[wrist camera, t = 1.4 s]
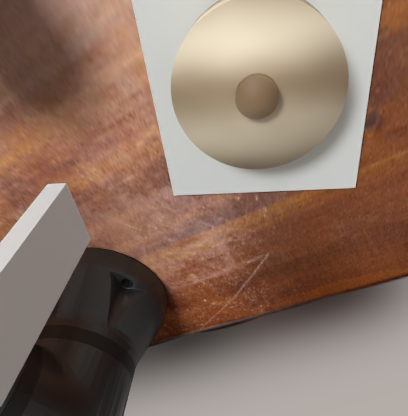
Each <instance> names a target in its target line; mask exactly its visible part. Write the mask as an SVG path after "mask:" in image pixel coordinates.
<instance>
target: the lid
mask: <svg viewBox="0 0 408 416" xmlns="http://www.w3.org/2000/svg"><path fill="white" fill-rule="evenodd" d="M348 78H349V74H348V64H347V59H346V55H345V51H344V49H343V46H342V44H341V42H340V39H339V38H338V36H337V35H336V33H335V31H334V30H333V28H332V27H331V26H330V24H329V23H328V22H327V20H326V19H325V18H324V17H323V16H322V14H321V13H320V12H319V11H318V10H317V9H316V8H315V7H314V6H313V5H311V4H310V3H309V2H308V1H306V0H219V1H217V2H216V3H215V4H213V5H212V6H210V7H209V8H208V9H207V10H206V11H205V12H204V13H203V14H202V15H201V16H200V17H199V18H198V19H197V21H196V22H195V23H194V24H193V26H192V28H191V29H190V31H189V33H188V34H187V36H186V38H185V39H184V41H183V43H182V44H181V46H180V48H179V51H178V53H177V55H176V58H175V61H174V65H173V69H172V75H171V98H172V104H173V108H174V112H175V115H176V117H177V120H178V122H179V124H180V126H181V128H182V129H183V131H184V133H185V134H186V135H187V137H188V138H189V139H190V140H191V141H192V143H193V144H194V145H195V146H196V147H197V148H199V149H200V150H201V151H202V152H203V153H205V154H206V155H208V156H210V157H211V158H213V159H215V160H217V161H219V162H221V163H224V164H227V165H229V166H233V167H238V168H244V169H266V168H272V167H277V166H281V165H284V164H287V163H290V162H292V161H294V160H296V159H298V158H300V157H302V156H303V155H305V154H307V153H308V152H310V151H311V150H312V149H313V148H315V147H316V146H317V145H318V144H319V143H320V142H321V141H322V140H323V139H324V138H325V137H326V136H327V135H328V133H329V132H330V131H331V130H332V128H333V127H334V125H335V123H336V122H337V120H338V118H339V116H340V114H341V112H342V110H343V107H344V103H345V100H346V96H347V90H348Z"/></svg>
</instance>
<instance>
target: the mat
mask: <svg viewBox="0 0 408 416" xmlns="http://www.w3.org/2000/svg"><path fill="white" fill-rule="evenodd" d="M217 1H219V0H132V4H133V9H134V14H135V18H136V23H137V28H138V32H139V37H140V41H141V46H142V51H143V55H144V60H145V65H146V69H147V74H148V78H149V83H150V88H151V92H152V97H153V102H154V106H155V111H156V115H157V120H158V125H159V129H160V134H161V139H162V143H163V148H164V152H165V157H166V162H167V166H168V171H169V176H170V180H171V185H172V189H173V194H174V196H176V195H200V194H223V193H247V192H270V191H293V190H317V189H340V188H356V181H357V174H358V167H359V160H360V153H361V146H362V139H363V132H364V125H365V118H366V111H367V104H368V97H369V90H370V83H371V76H372V69H373V62H374V55H375V49H376V42H377V35H378V28H379V21H380V14H381V7H382V0H306V1H308V2H309V3H310V4H311V5H313V6H314V7H315V8H316V9H317V10H318V11H319V12H320V13H321V14H322V16H323V17H324V18H325V19H326V20H327V22H328V23H329V24H330V26H331V27H332V28H333V30H334V31H335V33H336V35H337V36H338V38H339V39H340V42H341V44H342V46H343V49H344V51H345V55H346V59H347V64H348V74H349V78H348V90H347V96H346V100H345V103H344V107H343V110H342V112H341V114H340V116H339V118H338V120H337V122H336V123H335V125H334V127H333V128H332V130H331V131H330V132H329V133H328V135H327V136H326V137H325V138H324V139H323V140H322V141H321V142H320V143H319V144H318V145H317V146H316V147H315V148H313V149H312V150H311V151H310V152H308V153H307V154H305V155H303V156H302V157H300V158H298V159H296V160H294V161H292V162H290V163H287V164H284V165H281V166H277V167H272V168H266V169H244V168H238V167H233V166H229V165H227V164H224V163H221V162H219V161H217V160H215V159H213V158H211V157H210V156H208V155H206V154H205V153H203V152H202V151H201V150H200V149H199V148H197V147H196V146H195V145H194V144H193V143H192V141H191V140H190V139H189V138H188V137H187V135H186V134H185V133H184V131H183V129H182V128H181V126H180V124H179V122H178V120H177V117H176V115H175V112H174V108H173V104H172V98H171V75H172V69H173V65H174V61H175V58H176V55H177V53H178V51H179V48H180V46H181V44H182V43H183V41H184V39H185V38H186V36H187V34H188V33H189V31H190V29H191V28H192V26H193V24H194V23H195V22H196V21H197V19H198V18H199V17H200V16H201V15H202V14H203V13H204V12H205V11H206V10H207V9H208V8H209V7H210V6H212V5H213V4H215V3H216V2H217Z"/></svg>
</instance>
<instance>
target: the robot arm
mask: <svg viewBox="0 0 408 416" xmlns="http://www.w3.org/2000/svg"><path fill="white" fill-rule="evenodd" d="M90 240H91V238H90V236H89V234H88V231H87V229H86V227H85V224H84V222H83V220H82V218H81V215H80V213H79V211H78V208H77V206H76V204H75V201H74V199H73V197H72V195H71V192H70V190H69V188H68V185H67V183H62V184H47V185H46V187H45V188H44V189H43V190H42V192H41V193H40V194H39V195H38V197H37V198H36V199H35V200H34V202H33V203H32V204H31V205H30V207H29V208H28V209H27V210H26V212H25V213H24V214H23V215H22V216H21V218H20V219H19V220H18V221H17V223H16V224H15V225H14V226H13V228H12V229H11V230H10V231H9V233H8V234H7V235H6V236H5V238H4V239H3V240H2V241H1V242H0V416H123V415H124V411H125V407H126V402H127V399H128V395H129V391H130V387H131V383H132V379H133V375H134V372H135V368H136V365H137V363H138V362H139V360H140V359H141V357H142V356H143V354H144V353H145V351H146V349H147V348H148V347H149V345H150V343H151V342H152V340H153V339H154V337H155V336H156V334H157V333H158V331H159V330H160V328H161V326H162V324H163V321H164V317H165V313H166V308H167V294H166V291H165V289H164V287H163V285H162V283H161V282H160V280H159V279H158V278H157V277H156V276H155V275H154V274H153V273H152V272H151V271H150V270H149V269H148V268H146V267H145V266H144V265H142V264H141V263H139V262H137V261H136V260H134V259H132V258H130V257H128V256H125V255H123V254H120V253H117V252H114V251H110V250H105V249H99V248H86V247H87V245H88V243H89V241H90Z"/></svg>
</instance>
